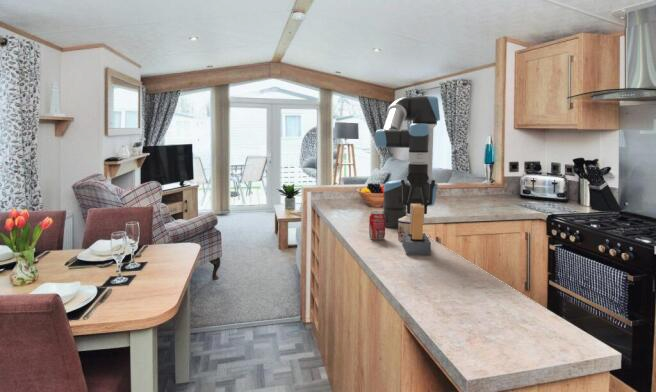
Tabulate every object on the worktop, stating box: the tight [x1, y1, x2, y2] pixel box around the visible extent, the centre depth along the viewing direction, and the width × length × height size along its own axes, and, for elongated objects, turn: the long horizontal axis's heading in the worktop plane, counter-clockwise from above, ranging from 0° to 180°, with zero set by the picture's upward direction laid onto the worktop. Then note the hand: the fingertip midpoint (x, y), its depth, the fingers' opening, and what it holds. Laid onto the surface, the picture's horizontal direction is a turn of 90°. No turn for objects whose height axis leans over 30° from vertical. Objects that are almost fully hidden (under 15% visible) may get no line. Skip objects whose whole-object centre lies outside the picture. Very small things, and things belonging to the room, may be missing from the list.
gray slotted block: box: [401, 233, 432, 257], centre depth 177 cm, size 9×17×5 cm, turn 175°
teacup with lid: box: [397, 214, 411, 242], centre depth 193 cm, size 12×9×12 cm
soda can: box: [368, 211, 386, 241], centre depth 196 cm, size 7×7×12 cm
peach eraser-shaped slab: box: [410, 204, 425, 240], centre depth 176 cm, size 4×12×12 cm, turn 176°
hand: (416, 221), depth 176 cm, fingers closed on peach eraser-shaped slab, 4 cm apart
